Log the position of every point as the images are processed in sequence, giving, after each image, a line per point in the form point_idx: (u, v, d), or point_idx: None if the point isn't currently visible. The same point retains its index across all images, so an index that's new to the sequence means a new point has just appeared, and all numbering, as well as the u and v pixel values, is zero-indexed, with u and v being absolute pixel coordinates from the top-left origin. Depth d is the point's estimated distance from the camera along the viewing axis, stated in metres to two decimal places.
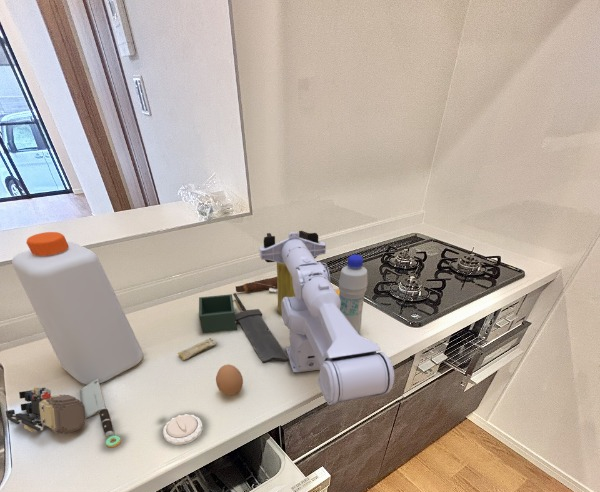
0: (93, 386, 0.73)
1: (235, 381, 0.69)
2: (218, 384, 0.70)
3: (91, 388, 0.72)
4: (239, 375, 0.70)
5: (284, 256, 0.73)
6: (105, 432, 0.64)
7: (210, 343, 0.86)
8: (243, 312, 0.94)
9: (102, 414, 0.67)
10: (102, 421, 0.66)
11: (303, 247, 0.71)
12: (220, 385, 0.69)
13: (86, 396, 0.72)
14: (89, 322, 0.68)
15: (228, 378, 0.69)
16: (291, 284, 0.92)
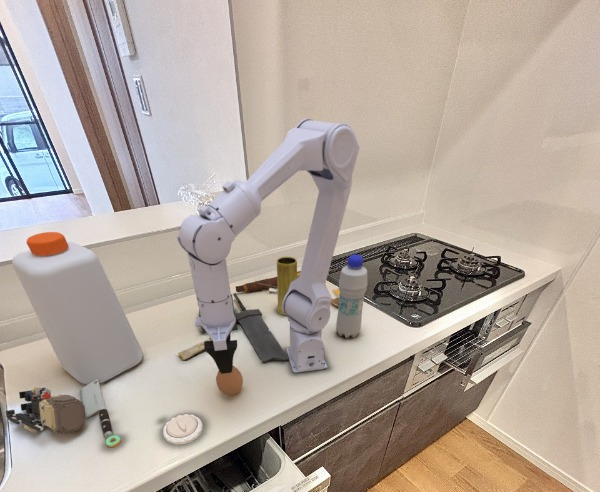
0: (92, 386, 0.73)
1: (235, 381, 0.69)
2: (218, 384, 0.70)
3: (91, 388, 0.72)
4: (239, 375, 0.70)
5: (212, 311, 0.58)
6: (104, 432, 0.64)
7: None
8: (243, 312, 0.94)
9: (102, 414, 0.67)
10: (101, 421, 0.66)
11: None
12: (220, 385, 0.69)
13: (86, 396, 0.72)
14: (89, 322, 0.68)
15: (228, 378, 0.69)
16: None
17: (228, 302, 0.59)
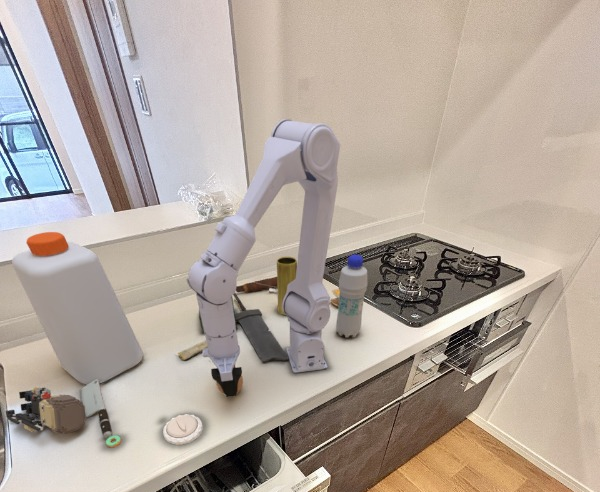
0: (92, 386, 0.73)
1: None
2: (218, 384, 0.70)
3: (91, 388, 0.72)
4: None
5: (218, 344, 0.62)
6: (103, 432, 0.64)
7: None
8: (243, 312, 0.94)
9: (101, 415, 0.67)
10: (100, 421, 0.66)
11: None
12: None
13: (86, 396, 0.72)
14: (89, 322, 0.68)
15: None
16: None
17: (234, 336, 0.63)
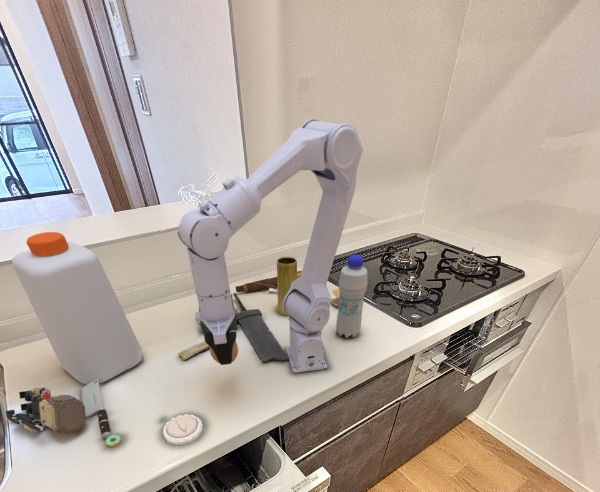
0: (92, 386, 0.73)
1: None
2: (212, 352, 0.67)
3: (91, 388, 0.72)
4: None
5: (211, 305, 0.59)
6: (102, 433, 0.64)
7: None
8: (243, 312, 0.94)
9: (100, 415, 0.67)
10: (100, 422, 0.66)
11: None
12: None
13: (85, 396, 0.72)
14: (89, 322, 0.68)
15: None
16: None
17: (227, 297, 0.60)
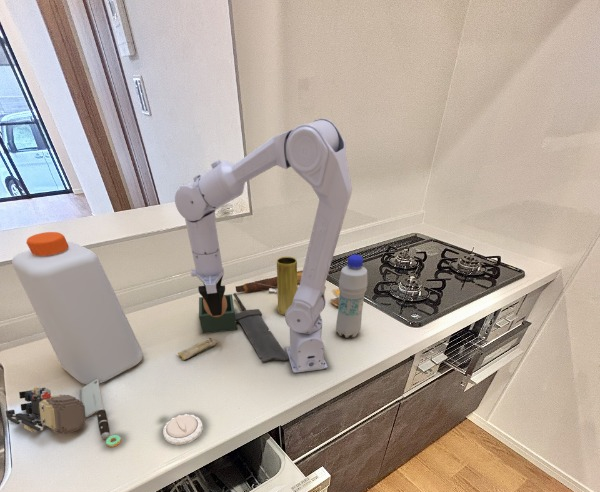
0: (92, 387, 0.73)
1: None
2: (205, 304, 0.79)
3: (91, 388, 0.72)
4: (223, 297, 0.80)
5: (204, 262, 0.72)
6: (101, 433, 0.64)
7: (210, 343, 0.86)
8: (243, 312, 0.94)
9: (100, 415, 0.67)
10: (99, 422, 0.66)
11: None
12: (206, 304, 0.79)
13: (85, 396, 0.72)
14: (89, 322, 0.68)
15: None
16: (291, 284, 0.92)
17: (217, 255, 0.73)
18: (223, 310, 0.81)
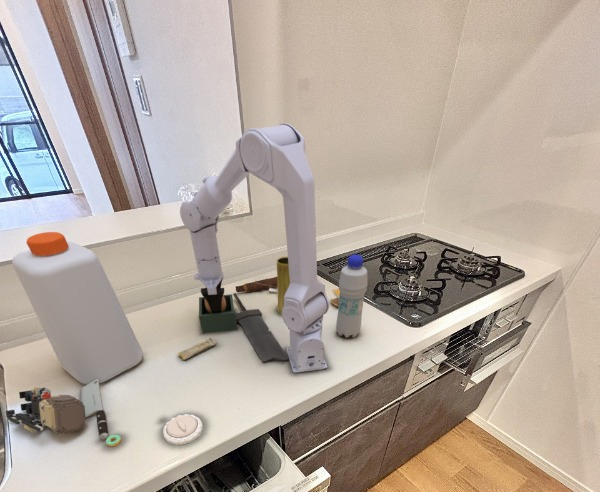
0: (92, 387, 0.73)
1: None
2: (206, 304, 0.90)
3: (90, 388, 0.72)
4: (223, 298, 0.90)
5: (206, 267, 0.82)
6: (100, 434, 0.64)
7: (210, 343, 0.86)
8: (243, 312, 0.94)
9: (99, 416, 0.66)
10: (98, 422, 0.66)
11: None
12: (208, 304, 0.89)
13: (85, 396, 0.72)
14: (89, 322, 0.68)
15: None
16: None
17: (217, 261, 0.83)
18: (222, 309, 0.91)
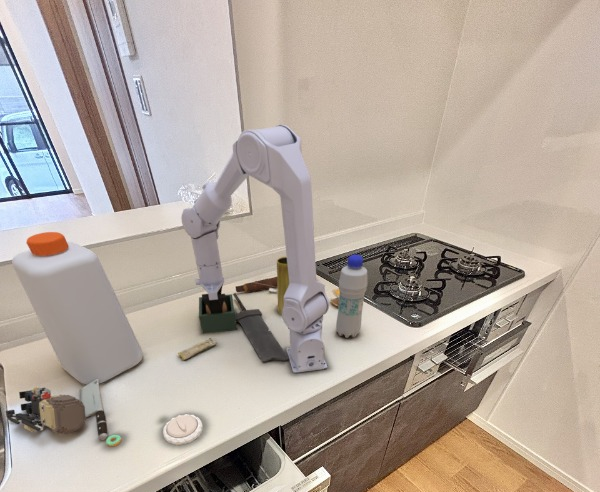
0: (92, 387, 0.73)
1: None
2: (207, 310, 0.91)
3: (90, 388, 0.72)
4: (224, 303, 0.91)
5: (207, 272, 0.83)
6: (99, 434, 0.64)
7: (210, 343, 0.86)
8: (243, 312, 0.94)
9: (98, 416, 0.66)
10: (97, 423, 0.66)
11: None
12: (209, 310, 0.90)
13: (85, 396, 0.72)
14: (89, 322, 0.68)
15: None
16: None
17: (218, 266, 0.84)
18: None
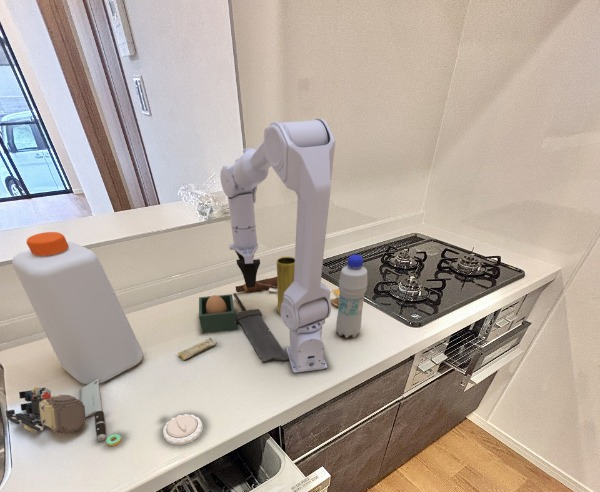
0: (92, 387, 0.73)
1: (221, 307, 0.90)
2: (207, 310, 0.91)
3: (90, 388, 0.72)
4: (224, 303, 0.91)
5: (243, 236, 0.82)
6: (97, 435, 0.64)
7: (210, 343, 0.86)
8: (243, 312, 0.94)
9: (97, 416, 0.66)
10: (96, 423, 0.65)
11: None
12: (209, 310, 0.90)
13: (85, 396, 0.72)
14: (89, 322, 0.68)
15: (215, 304, 0.89)
16: None
17: (254, 230, 0.83)
18: None
